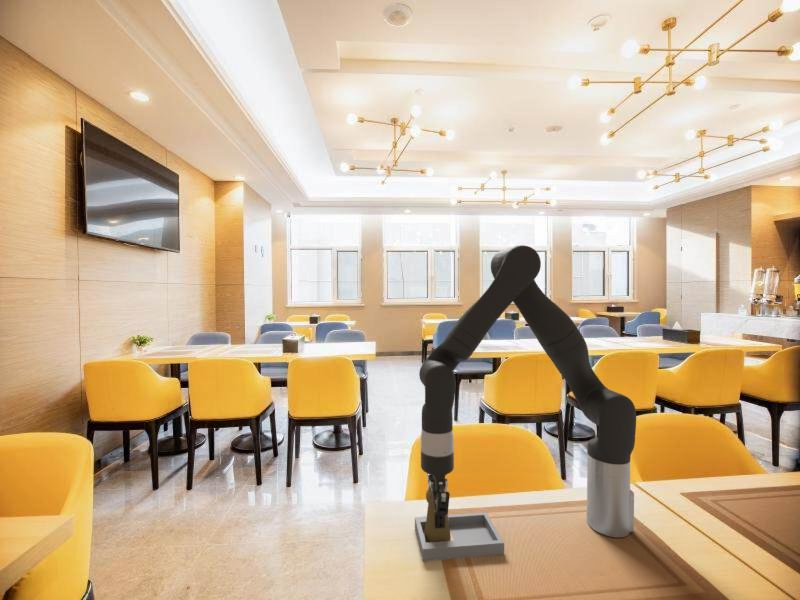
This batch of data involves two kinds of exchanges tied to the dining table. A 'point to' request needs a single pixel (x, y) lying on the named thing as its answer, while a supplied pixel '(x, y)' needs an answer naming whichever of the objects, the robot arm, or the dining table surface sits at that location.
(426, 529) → the olive pawn piece
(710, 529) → the dining table surface
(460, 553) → the grey shallow tray
